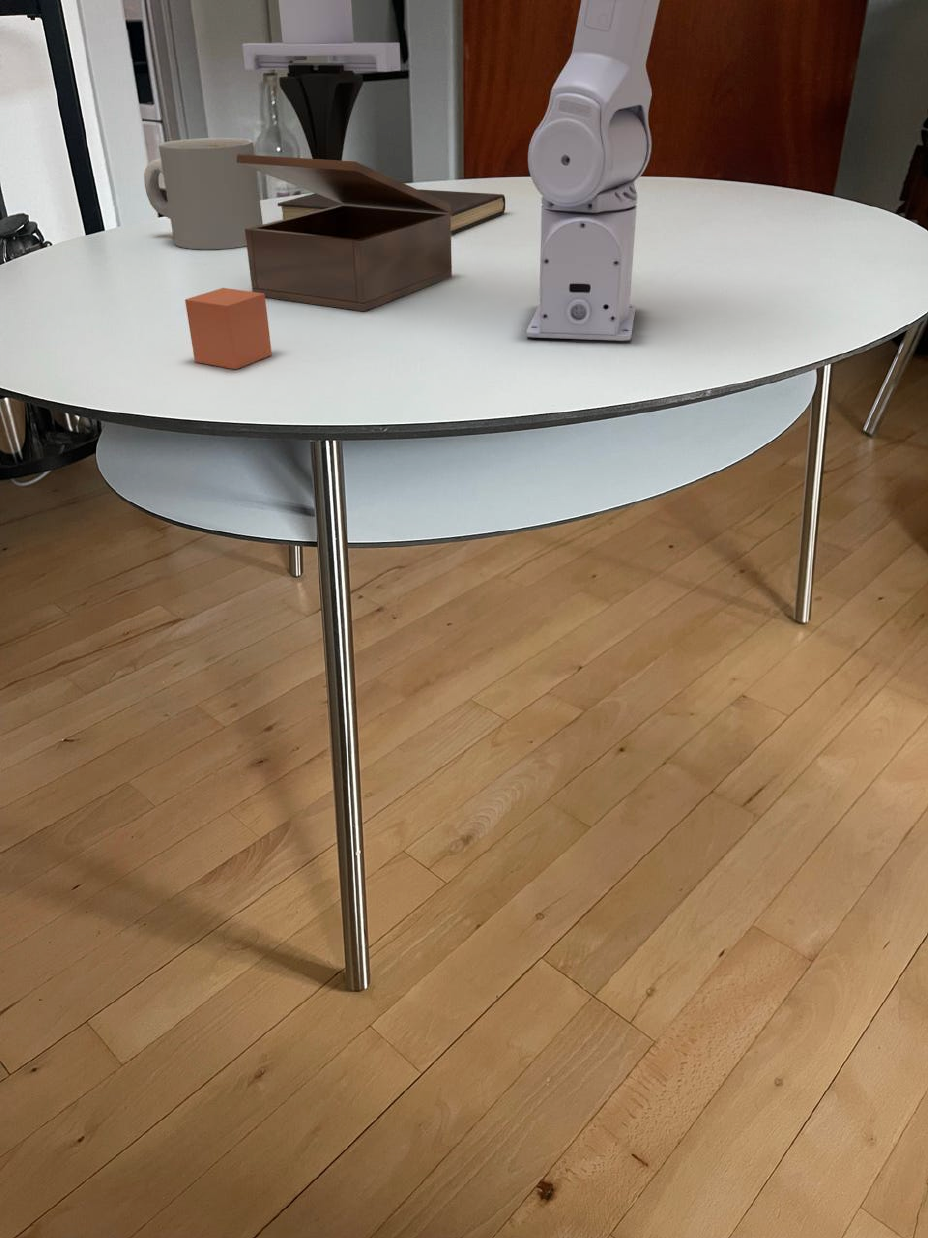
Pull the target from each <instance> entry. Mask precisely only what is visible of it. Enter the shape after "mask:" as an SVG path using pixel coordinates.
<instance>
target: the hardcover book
mask: <svg viewBox="0 0 928 1238" xmlns="http://www.w3.org/2000/svg"><path fill="white" fill-rule="evenodd" d="M416 189H417V188H416ZM417 190H419V191H422V192H424V193H426V194H428V195H430V196H433V197H435V198H437V199H439V200H441V201H443V202H446V203H448V204H450V205H451V209H450V213H449V214H451V236H453V235H455V234H457V233H460V232H463V231H465V230H467V229H468V230H469V229H471V228H473V227H475V226H478V225H480V224H482V223H485V222H487V221H489V220H492V219H494V218H495V219H496V218H497V217H500V216H503V215H504V213H505V211H506V197H505V195H504V194H503V193H486V192H469V191H455V190H454V191H453V190H451V191H450V190H435V189H417ZM338 205H342V203H340V202H337V201H334V200H332V199H329V198H327V197H324V196H321V195H319V194H316V193H314V192H313V193H311V194H307V195H303V196H300V197H296V198H292V199H289V200H285V201H281V202H278V203H277V207H281V212H282V220H283V219H287V218H291V217H295V216H299V215H303V214H307V213H311V212H315V211H319V210H323V209H327V208H331V207H334V206H338ZM345 205H354V204H345ZM356 206H365V205H356ZM368 207H377V206H368ZM380 208H389V207H380ZM391 209H400V208H391ZM403 210H412V209H403ZM414 211H424V210H414ZM426 212H435V211H426ZM438 213H447V212H438Z"/></svg>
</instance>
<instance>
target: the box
mask: <svg viewBox="0 0 928 1238" xmlns="http://www.w3.org/2000/svg"><path fill="white" fill-rule="evenodd" d="M245 236H246V244H247V246H246V250H247V258H248V267H249V275H250V282H251V283H250V284H251V292H257V293H264V294H265V298H267V299H274V300H282V301H288V302H295V303H303V304H309V305H316V306H323V307H330V308H339V309H344V310H350V311H358V312H367V311H369V310H372V309H375V308H377V307H379V306H382V305H385V304H387V303H390V302H392V301H395V300H397V299H400V298H403V297H405V296H407V295H410V294H412V293H415V292H417V291H420V290H422V289H425V288H427V287H430V286H432V285H436V284H438V283H440V282H443V281H445V280H448V279H450V278H453V270H452V269H453V265H452V264H453V261H452V260H453V259H452V235H451V214H449V213H438V212H426V211H414V210H403V209H391V208H380V207H368V206H356V205H345V204H342V205H338V206H334V207H331V208H327V209H323V210H319V211H315V212H311V213H307V214H303V215H299V216H295V217H291V218H287V219H283V218H282V219H280V220H276V221H272V222H267V223H263V225H259V226H255V227H251V228H247V229H245Z"/></svg>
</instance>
